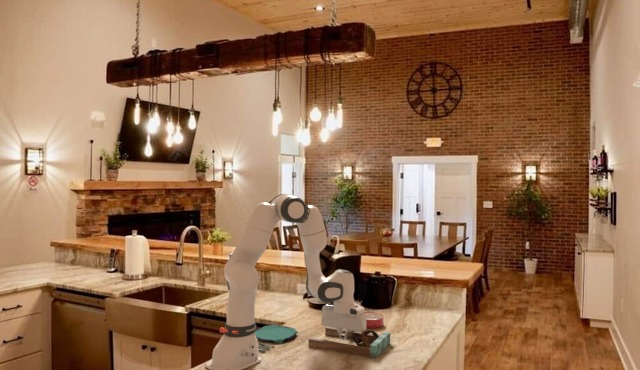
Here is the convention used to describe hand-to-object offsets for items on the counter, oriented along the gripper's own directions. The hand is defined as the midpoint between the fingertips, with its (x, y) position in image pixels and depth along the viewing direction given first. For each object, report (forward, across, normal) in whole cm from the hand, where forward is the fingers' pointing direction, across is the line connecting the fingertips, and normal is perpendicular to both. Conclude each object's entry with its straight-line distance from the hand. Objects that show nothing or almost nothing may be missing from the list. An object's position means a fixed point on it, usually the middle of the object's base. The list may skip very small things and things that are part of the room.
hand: (343, 338), depth 216 cm
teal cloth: (+3, -32, -10) cm, 34 cm away
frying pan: (+2, +1, +22) cm, 22 cm away
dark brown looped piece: (+3, +10, +2) cm, 10 cm away
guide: (+2, +3, +1) cm, 4 cm away
